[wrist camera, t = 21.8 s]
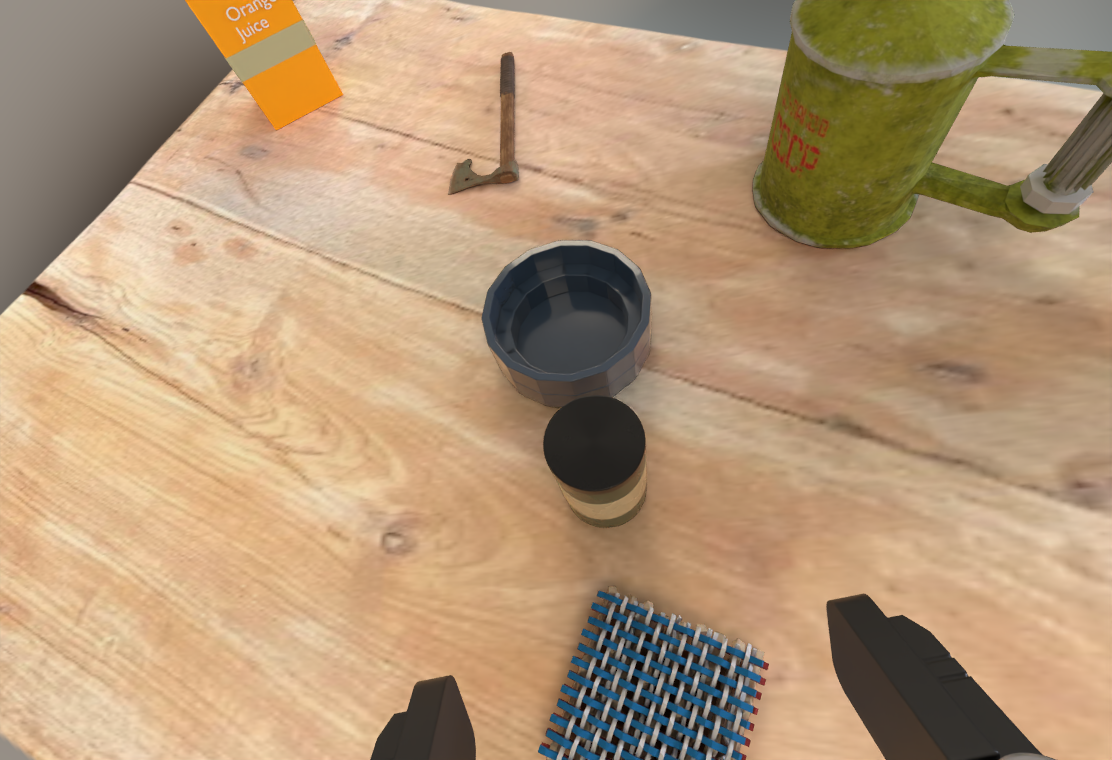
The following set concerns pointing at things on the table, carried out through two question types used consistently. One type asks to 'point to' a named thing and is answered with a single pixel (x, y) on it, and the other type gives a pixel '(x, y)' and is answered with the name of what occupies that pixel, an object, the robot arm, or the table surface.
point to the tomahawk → (507, 162)
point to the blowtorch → (910, 120)
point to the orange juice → (270, 55)
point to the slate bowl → (569, 321)
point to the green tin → (598, 459)
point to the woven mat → (664, 684)
